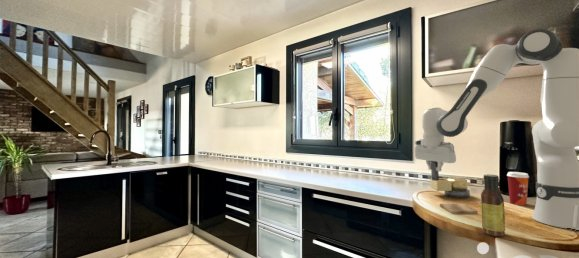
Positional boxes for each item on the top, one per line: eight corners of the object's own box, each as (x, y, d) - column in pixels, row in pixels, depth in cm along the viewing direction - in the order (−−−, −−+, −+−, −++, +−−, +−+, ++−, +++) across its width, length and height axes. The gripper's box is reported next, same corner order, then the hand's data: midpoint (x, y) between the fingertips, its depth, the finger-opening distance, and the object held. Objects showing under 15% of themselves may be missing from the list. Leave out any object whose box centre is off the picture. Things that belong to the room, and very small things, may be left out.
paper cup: (525, 207, 110) (525, 175, 110) (504, 202, 117) (503, 172, 117) (532, 204, 114) (532, 173, 114) (511, 200, 121) (510, 170, 121)
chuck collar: (460, 186, 135) (460, 177, 135) (471, 191, 126) (471, 180, 126) (429, 186, 136) (429, 177, 136) (438, 191, 127) (438, 181, 127)
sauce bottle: (509, 238, 82) (508, 177, 82) (488, 236, 84) (487, 177, 83) (497, 229, 89) (496, 173, 89) (477, 228, 90) (476, 173, 90)
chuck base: (461, 192, 136) (461, 186, 136) (475, 198, 125) (474, 192, 125) (440, 192, 137) (440, 186, 137) (451, 198, 126) (451, 192, 126)
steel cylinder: (436, 179, 123) (436, 158, 123) (440, 180, 120) (439, 159, 120) (430, 179, 123) (429, 159, 123) (433, 180, 120) (432, 159, 120)
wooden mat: (462, 205, 115) (462, 203, 115) (477, 213, 105) (477, 211, 105) (439, 205, 115) (439, 203, 115) (452, 213, 105) (452, 211, 105)
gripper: (458, 142, 113) (460, 173, 113) (421, 140, 132) (423, 167, 132) (448, 143, 111) (449, 174, 111) (412, 141, 130) (413, 168, 130)
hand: (434, 170), depth 122 cm, fingers closed on steel cylinder, 3 cm apart
